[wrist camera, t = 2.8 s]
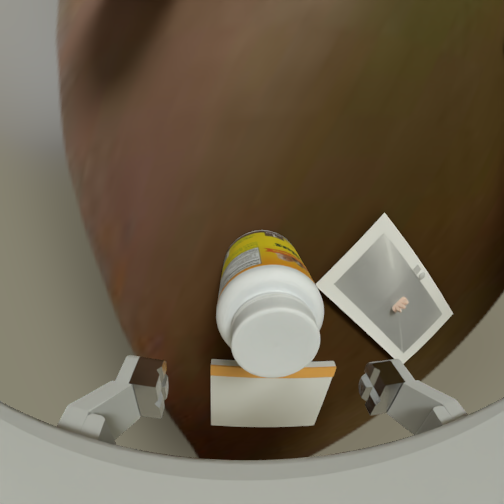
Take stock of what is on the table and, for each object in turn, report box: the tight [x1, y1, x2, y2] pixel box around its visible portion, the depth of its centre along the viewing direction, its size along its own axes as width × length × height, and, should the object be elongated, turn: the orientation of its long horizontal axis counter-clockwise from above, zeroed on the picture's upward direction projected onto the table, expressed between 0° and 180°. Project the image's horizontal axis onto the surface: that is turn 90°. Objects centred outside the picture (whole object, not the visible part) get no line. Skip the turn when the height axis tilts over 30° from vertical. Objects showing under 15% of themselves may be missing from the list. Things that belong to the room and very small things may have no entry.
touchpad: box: [316, 213, 453, 364], centre depth 23 cm, size 8×15×2 cm, turn 47°
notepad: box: [211, 359, 336, 427], centre depth 26 cm, size 12×10×1 cm
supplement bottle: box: [216, 230, 324, 378], centre depth 17 cm, size 6×6×10 cm
